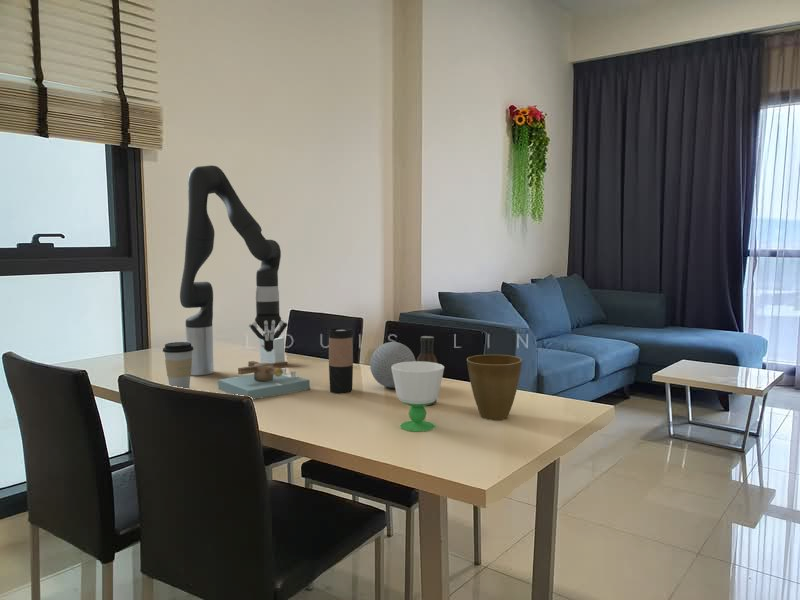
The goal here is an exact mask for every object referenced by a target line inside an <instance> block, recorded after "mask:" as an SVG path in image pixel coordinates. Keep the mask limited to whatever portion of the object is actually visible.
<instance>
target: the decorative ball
mask: <svg viewBox="0 0 800 600" xmlns="http://www.w3.org/2000/svg"><path fill="white" fill-rule="evenodd" d="M412 361H416V357H415V355H414V353H413V352H412V349H410V348H409V347H408V346H406V344H402V343H401V342H397V341H389V342H385V343H383V344H381V345H380V346H378V347H377V348H376V349H375V351H374V352H373V354H372V355H371V358H370V364H369V366H370V367H369V369H370V372H371V374H372V377H373V378H374V379H375V381H376V382H377V383H378V384H380V385H381V386H383V387H386V388H388V389H389V388H390V389H395V384H394V379H393V374H392V369H391V367H392V365H393V364H397V363H401V362H412Z"/></svg>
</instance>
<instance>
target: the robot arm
mask: <svg viewBox="0 0 800 600" xmlns="http://www.w3.org/2000/svg"><path fill="white" fill-rule="evenodd" d="M187 187H188V189H187V194H188V196H187V197H188V198H187V199H188V207H187V208H188V213H187V226H186V227H187V228H186V237H185V251H184V265H183V270H182V278H181V283H180V289H179V290H180V291H179V301H180V304H181V307H183V308H185V309H186V308H187V309H195V308H196V309H198V308H200V310H199V311H198V312H197V313H196V314H194V315H192V316H190V317H188V318H186V319H185V342H189V343H191V346H193V349H194V350H192V367H191V375H190V376H204V375H210V374H213V373H215V371H214V370H215V369H214V366H215V365H214V338H213V337H214V332H213V331H214V330H213V328H214V327H213V318H214V290H213V289H214V288H213V286H212V283H210V282H208V281H195V279H196V277H197V274H198V271H199V270H200V269H201V267H202V266H203V265H204V264H205V262H206V261H207V260H208V259H209V257H210V256H211V255H212V253H213V250H214V244H215V228H214V225H213V222H212V221H211V218H210V215H209V214H208V199H209V194H215V195H216V196H217V197H218V198H220V200H221V201H222V202H223V205H224V206H225V209H226V212H227V216H228V220H229V222H230V224H231V226H232V227H233V228H234V230H236V232H237V233H238V234H239V235H240V236H241V238H242V239H243V241H244V242H245V245H246V247H247V249H248V250H249V253H250V254H251V255H252V256H253V257H254V258H255V259H256V260H258V261H260V262H261V263H260V268H258V270H256V275H255V276H256V278H255V280H256V281H255V282H256V291H255V304H256V305H255V307H256V310H255V313H256V316H255V318H254V322H252V323H250V324H249V325H248V327H249V329H250V330H251V331H252V333H254V335H256V336H257V338H258V339H259V340H260V339H262V340H264V349H265V350H266V351H267V352H271V351H272V350H273V340H274V339H276V338H279V337H281V335H282V334H283V332H284V331H285V329H286V328H287V327H288V323H287V322H285V321H284V320H282V317H281V315H280V290H279V276H278V275H279V270H280V269H279V268H280V264H281V257H282V251H281V246H280V244H279V243H278V242H277V241H275V240H274V239H267V238H266V237H265V236H264V235H263V234H262V231H263V230H262V229H263V228H262V227H261V225H260V224H259V223H258V222H257V220H256V219H255V218H254V217H253V216H252V214H251V213H250V212H249V210H247V208H246V207H245V205H244V204H243V203H242V201H241V199H240V198H239V196H238V194H237V193H236V190H235V189H234V187H233V185H232V184H231V182H230V180H229V179H228V177H227V175H226V174H225V172H224V171H223V170H222V169H221V168H220V167H219V166H217V165H212V164H211V165H201V166H196V167H193V168H192V169H191V170H190V171H189V175H188V180H187ZM258 327H259V328H260V329H261V330H262V331H261V332H262V333H261V332H260V331H259V330H258ZM277 327H278V328H277ZM276 329H277V330H276Z"/></svg>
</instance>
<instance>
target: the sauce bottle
mask: <svg viewBox="0 0 800 600" xmlns="http://www.w3.org/2000/svg"><path fill="white" fill-rule="evenodd" d="M419 339H420V340H419V341H420V353H419V354H418V357H417V358H416V361H422V362H433V363H438V364H439V362H438V359H437V357H436V355H435V353H434V351H435V350H434V345H435V344H434V343H435V337H434V336H431V335H429V336H428V335H423V336H420V338H419ZM437 400H438V398H437V399H436V401H435V402H433V403H431V404H429V405H428V406H432V405H435V404H436V403H437V402H438V401H437Z"/></svg>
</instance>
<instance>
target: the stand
mask: <svg viewBox="0 0 800 600" xmlns="http://www.w3.org/2000/svg"><path fill="white" fill-rule="evenodd" d="M281 369H282V371H283V374H282V375H281V376H276V375H273V379H272V380H269V381H256V380H254V373H251V374H244V375H241V376H234V377H227V378H221V379H218V380H217V388H218V390H221V391H223V392H225V393H228V394H230V393H231V394H230V395H233V394H238V395H244V396H250V397H252V398H253V399H254V398H259V399H262V398H261V397H265V398H268V397H267V396H270V397H274V396H273V395H275V396H280V395H279V394H281V395H285V394H284V393H286V394H291V393H297V392H300V391H301V390H302V391H306V390H307V391H308V390H310V388H311V386H310V381H311V380H310V379H308V378H305V377H301V376H297V371H296V370H291V371H290V373H288V372H287V368H281ZM296 391H297V392H296ZM290 392H291V393H290ZM254 400H255V399H254Z"/></svg>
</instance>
